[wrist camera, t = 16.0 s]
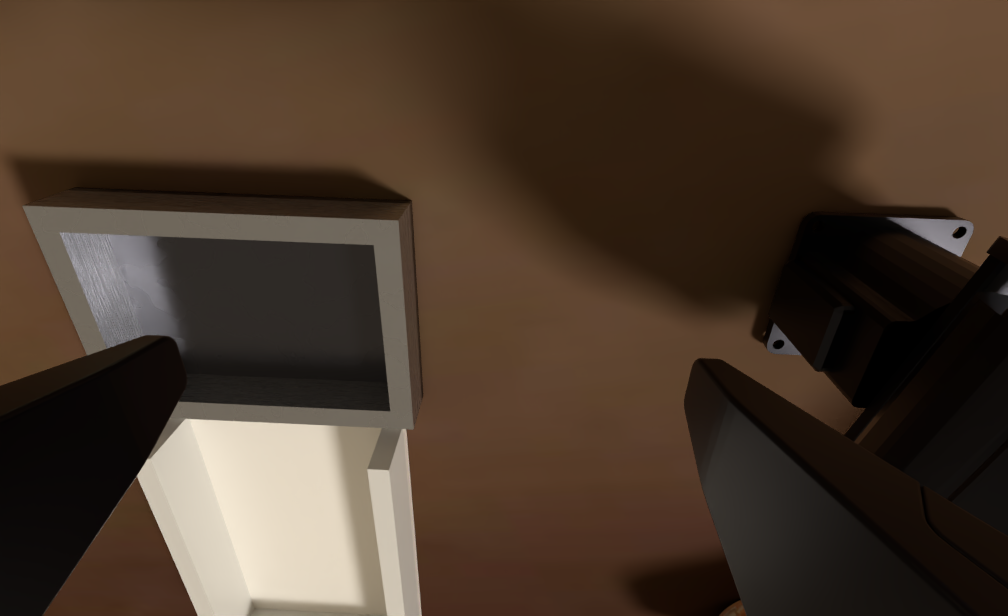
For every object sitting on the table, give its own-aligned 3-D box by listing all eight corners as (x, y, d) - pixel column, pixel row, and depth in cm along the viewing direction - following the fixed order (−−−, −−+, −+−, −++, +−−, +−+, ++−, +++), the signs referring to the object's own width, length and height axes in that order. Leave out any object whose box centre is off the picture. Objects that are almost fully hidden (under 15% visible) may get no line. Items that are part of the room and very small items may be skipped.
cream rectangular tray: (404, 409, 26) (388, 462, 23) (421, 616, 35) (411, 675, 32) (173, 399, 26) (125, 449, 23) (247, 607, 35) (219, 664, 32)
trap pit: (411, 200, 21) (398, 220, 19) (423, 395, 26) (413, 429, 23) (74, 187, 21) (22, 205, 19) (148, 383, 26) (113, 415, 24)
